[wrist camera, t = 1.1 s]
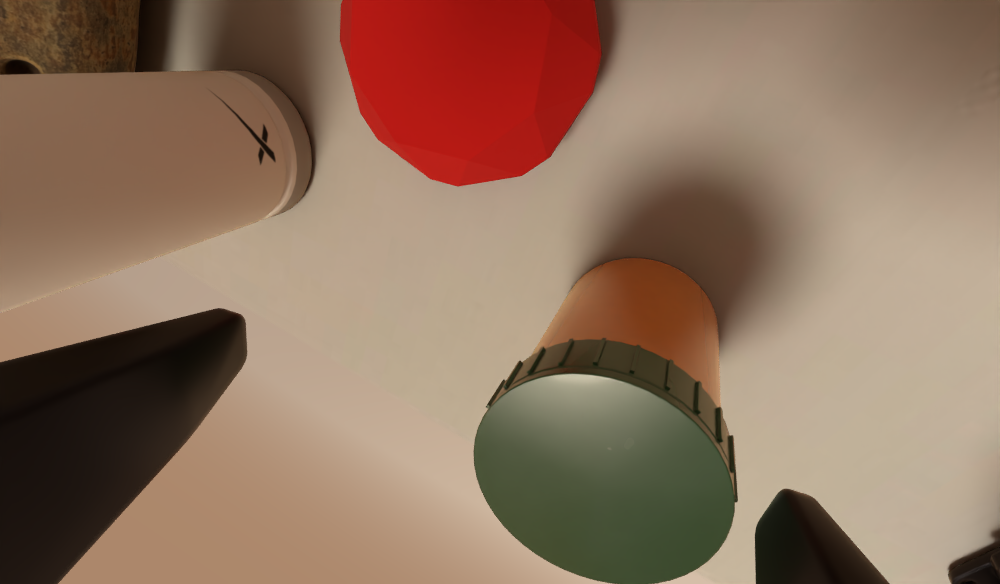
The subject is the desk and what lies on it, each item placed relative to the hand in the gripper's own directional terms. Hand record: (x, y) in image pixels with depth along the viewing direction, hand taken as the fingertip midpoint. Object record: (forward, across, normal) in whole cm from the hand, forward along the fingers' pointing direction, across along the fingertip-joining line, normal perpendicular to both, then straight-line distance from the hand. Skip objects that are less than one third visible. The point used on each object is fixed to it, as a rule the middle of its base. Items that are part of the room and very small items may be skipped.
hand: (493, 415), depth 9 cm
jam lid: (+4, -3, +4) cm, 6 cm away
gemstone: (+14, +5, -4) cm, 15 cm away
